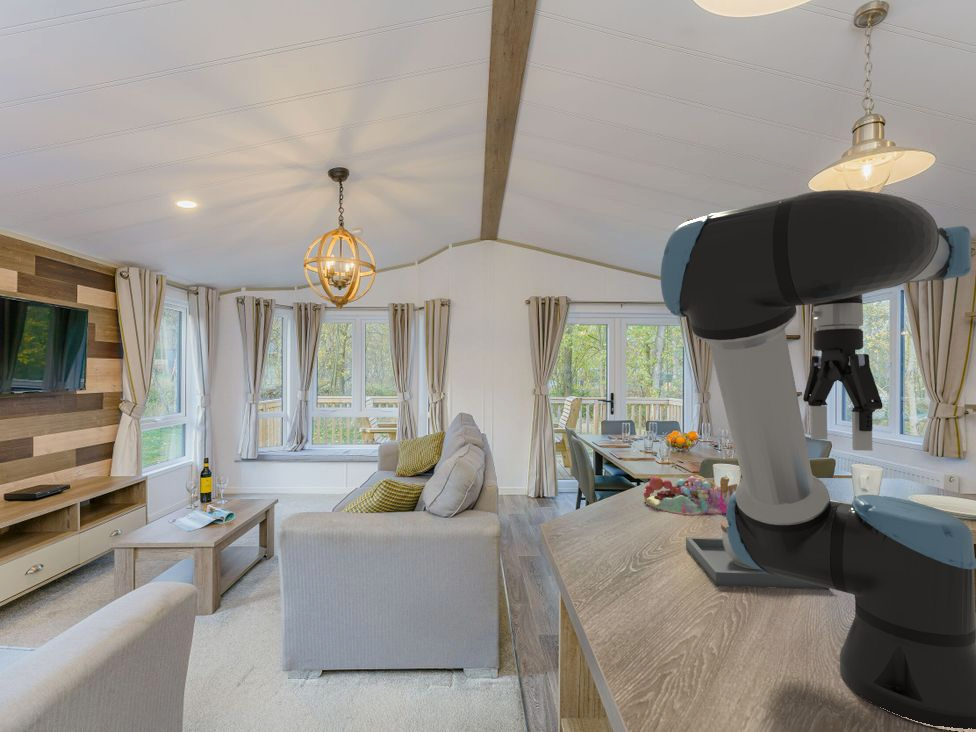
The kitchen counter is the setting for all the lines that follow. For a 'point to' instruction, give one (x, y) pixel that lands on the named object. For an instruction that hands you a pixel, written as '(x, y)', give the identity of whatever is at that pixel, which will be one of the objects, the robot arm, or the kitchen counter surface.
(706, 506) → the candy landscape model
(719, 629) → the kitchen counter surface
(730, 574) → the tray
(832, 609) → the kitchen counter surface
